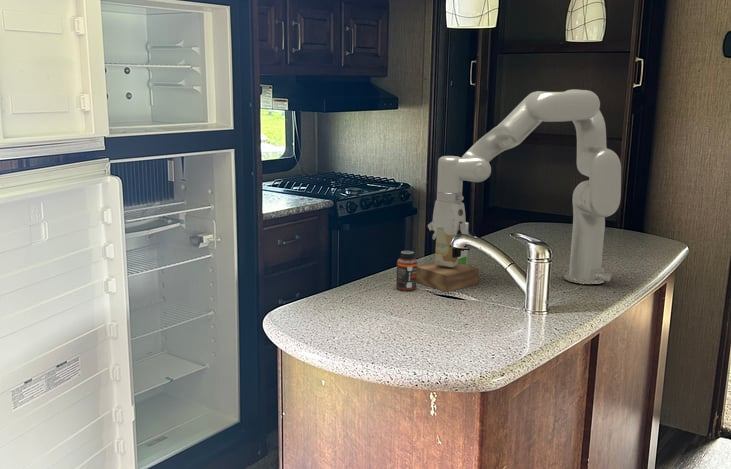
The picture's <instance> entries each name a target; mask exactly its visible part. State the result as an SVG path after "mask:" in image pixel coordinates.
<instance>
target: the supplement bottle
mask: <svg viewBox="0 0 731 469" xmlns="http://www.w3.org/2000/svg"><path fill="white" fill-rule="evenodd" d="M417 265H418V260H417V259H416V258H415V252H414V251H412V250H401V252H400V257H399V258H398V259H397V261H396V282H395V283H396V289H398V290H400V291H404V292H409V291H410V292H411V291H415V290H416V288H417V283H416V275H417Z"/></svg>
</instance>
